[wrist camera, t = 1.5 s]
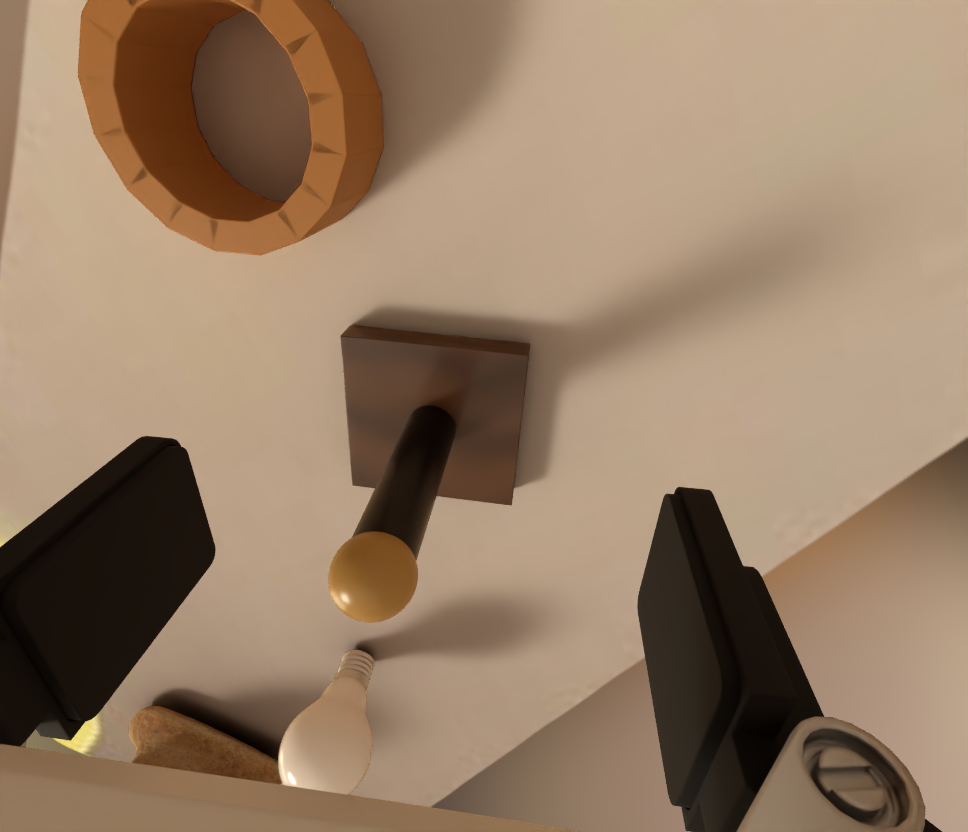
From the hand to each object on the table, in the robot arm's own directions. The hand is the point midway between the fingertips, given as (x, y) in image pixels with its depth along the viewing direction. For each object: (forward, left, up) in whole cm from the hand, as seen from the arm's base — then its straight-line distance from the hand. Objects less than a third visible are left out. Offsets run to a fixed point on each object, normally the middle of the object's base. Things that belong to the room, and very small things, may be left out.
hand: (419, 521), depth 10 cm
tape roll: (-6, -11, -19) cm, 23 cm away
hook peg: (+9, -3, -18) cm, 20 cm away
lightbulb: (+33, -9, -19) cm, 39 cm away
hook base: (+9, -3, -19) cm, 21 cm away
